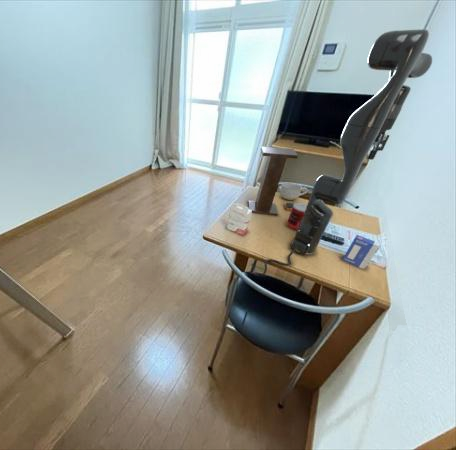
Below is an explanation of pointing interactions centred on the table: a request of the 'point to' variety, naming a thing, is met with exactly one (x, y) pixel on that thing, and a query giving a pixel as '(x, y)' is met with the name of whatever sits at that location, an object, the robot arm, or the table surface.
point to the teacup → (291, 191)
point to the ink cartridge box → (239, 218)
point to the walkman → (361, 251)
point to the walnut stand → (270, 179)
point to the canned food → (296, 215)
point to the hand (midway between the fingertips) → (365, 155)
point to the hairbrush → (289, 206)
